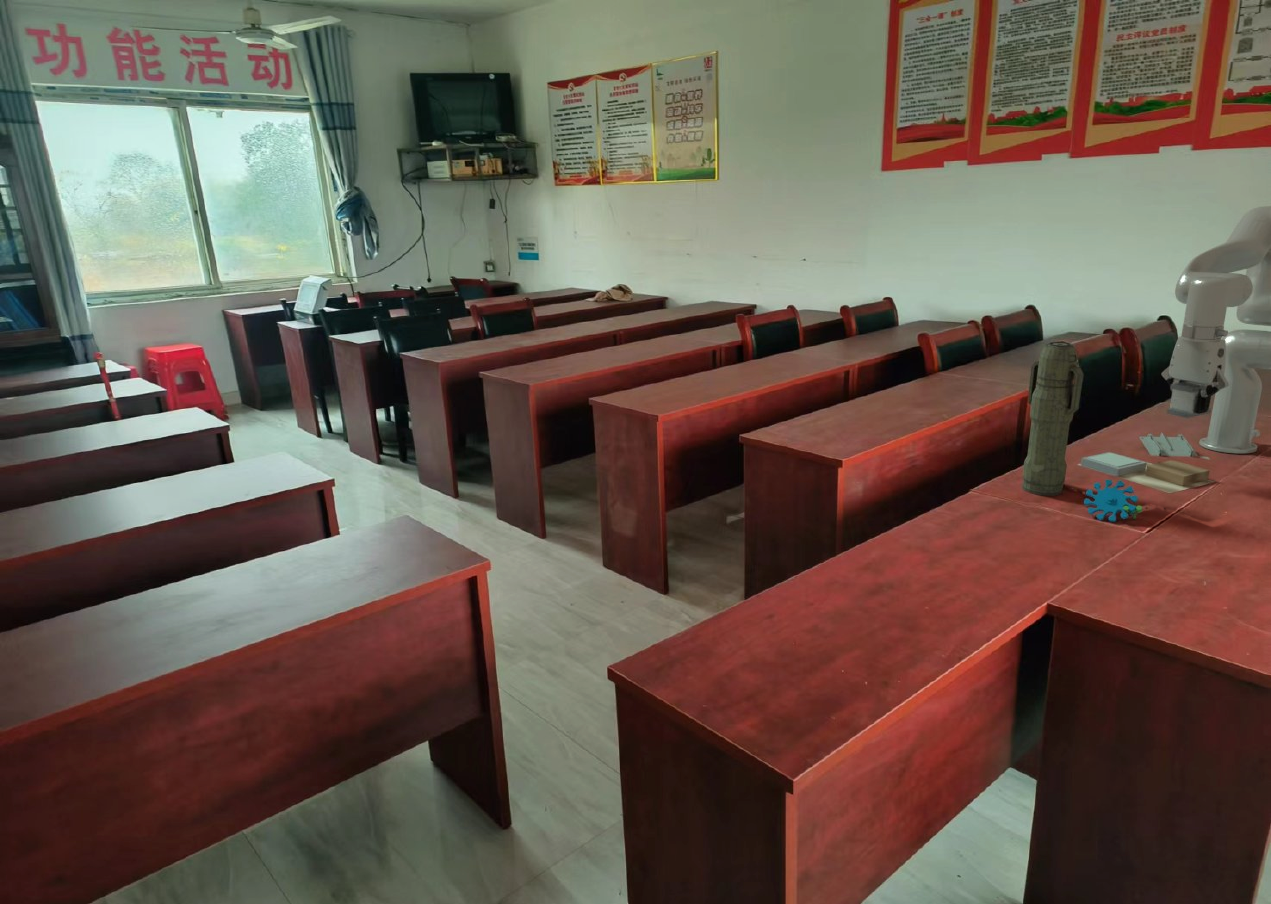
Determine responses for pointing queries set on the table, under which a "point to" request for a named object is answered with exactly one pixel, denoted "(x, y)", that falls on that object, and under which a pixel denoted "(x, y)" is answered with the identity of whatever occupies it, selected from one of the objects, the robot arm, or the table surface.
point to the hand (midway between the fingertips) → (1188, 409)
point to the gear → (1112, 501)
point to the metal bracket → (1168, 446)
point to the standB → (1113, 464)
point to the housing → (1185, 399)
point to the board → (1157, 481)
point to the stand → (1177, 473)
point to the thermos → (1051, 417)
